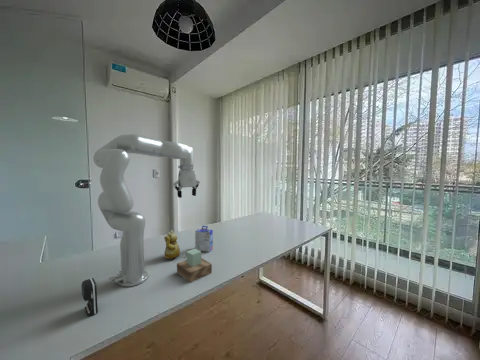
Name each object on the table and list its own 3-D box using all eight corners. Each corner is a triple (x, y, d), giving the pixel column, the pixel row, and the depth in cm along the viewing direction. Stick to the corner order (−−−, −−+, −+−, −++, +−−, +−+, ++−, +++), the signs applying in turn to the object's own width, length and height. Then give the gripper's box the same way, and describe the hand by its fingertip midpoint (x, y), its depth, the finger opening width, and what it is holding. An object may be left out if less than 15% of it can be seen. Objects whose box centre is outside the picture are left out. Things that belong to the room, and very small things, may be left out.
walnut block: (190, 283, 98) (190, 272, 97) (177, 273, 106) (176, 263, 106) (211, 273, 106) (211, 263, 106) (197, 264, 115) (197, 255, 114)
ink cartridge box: (213, 248, 135) (213, 226, 133) (210, 252, 129) (210, 228, 128) (198, 247, 137) (198, 224, 135) (194, 250, 131) (194, 227, 130)
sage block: (192, 266, 102) (192, 254, 102) (186, 263, 106) (186, 251, 105) (201, 263, 106) (201, 251, 106) (195, 260, 109) (195, 248, 109)
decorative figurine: (168, 253, 127) (167, 228, 126) (182, 253, 127) (181, 228, 126) (162, 261, 118) (161, 234, 116) (177, 261, 118) (177, 234, 116)
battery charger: (82, 308, 80) (80, 279, 79) (94, 304, 82) (92, 275, 81) (85, 319, 75) (83, 287, 74) (98, 313, 77) (96, 283, 76)
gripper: (176, 168, 118) (177, 199, 120) (202, 167, 130) (202, 195, 132) (169, 167, 123) (170, 197, 125) (195, 167, 136) (195, 194, 137)
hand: (187, 196), depth 128 cm, fingers open, 9 cm apart
